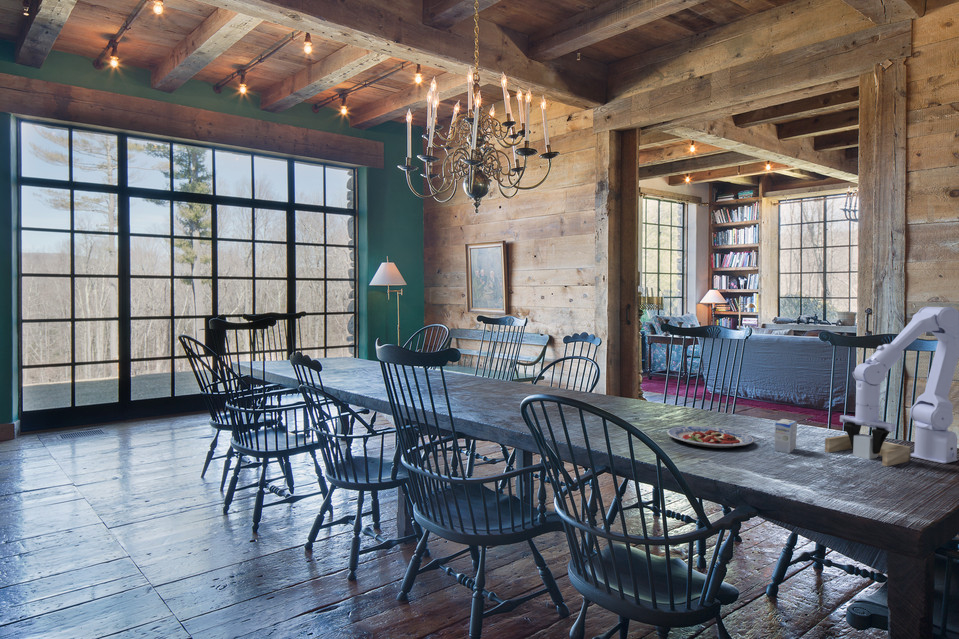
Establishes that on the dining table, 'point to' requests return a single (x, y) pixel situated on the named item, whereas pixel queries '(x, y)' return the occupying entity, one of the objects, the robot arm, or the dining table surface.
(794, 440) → the medicine box
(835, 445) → the birch frame
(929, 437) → the robot arm
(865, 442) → the block
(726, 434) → the ceramic plate
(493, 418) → the dining table surface
